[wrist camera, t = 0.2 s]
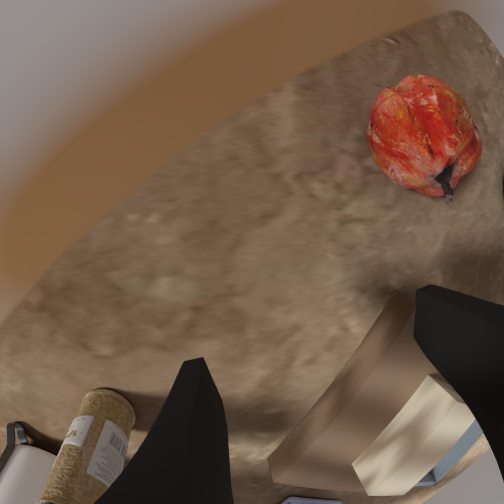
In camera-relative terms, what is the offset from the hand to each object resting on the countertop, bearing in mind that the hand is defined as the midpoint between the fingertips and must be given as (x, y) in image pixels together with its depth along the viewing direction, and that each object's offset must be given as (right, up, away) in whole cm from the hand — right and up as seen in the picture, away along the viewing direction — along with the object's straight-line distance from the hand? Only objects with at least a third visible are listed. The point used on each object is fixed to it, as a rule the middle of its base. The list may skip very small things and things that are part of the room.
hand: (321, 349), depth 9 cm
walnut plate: (+10, -11, +14) cm, 20 cm away
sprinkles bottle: (-13, -9, +11) cm, 20 cm away
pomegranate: (+8, +11, +10) cm, 17 cm away
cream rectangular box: (+11, -12, +11) cm, 20 cm away
